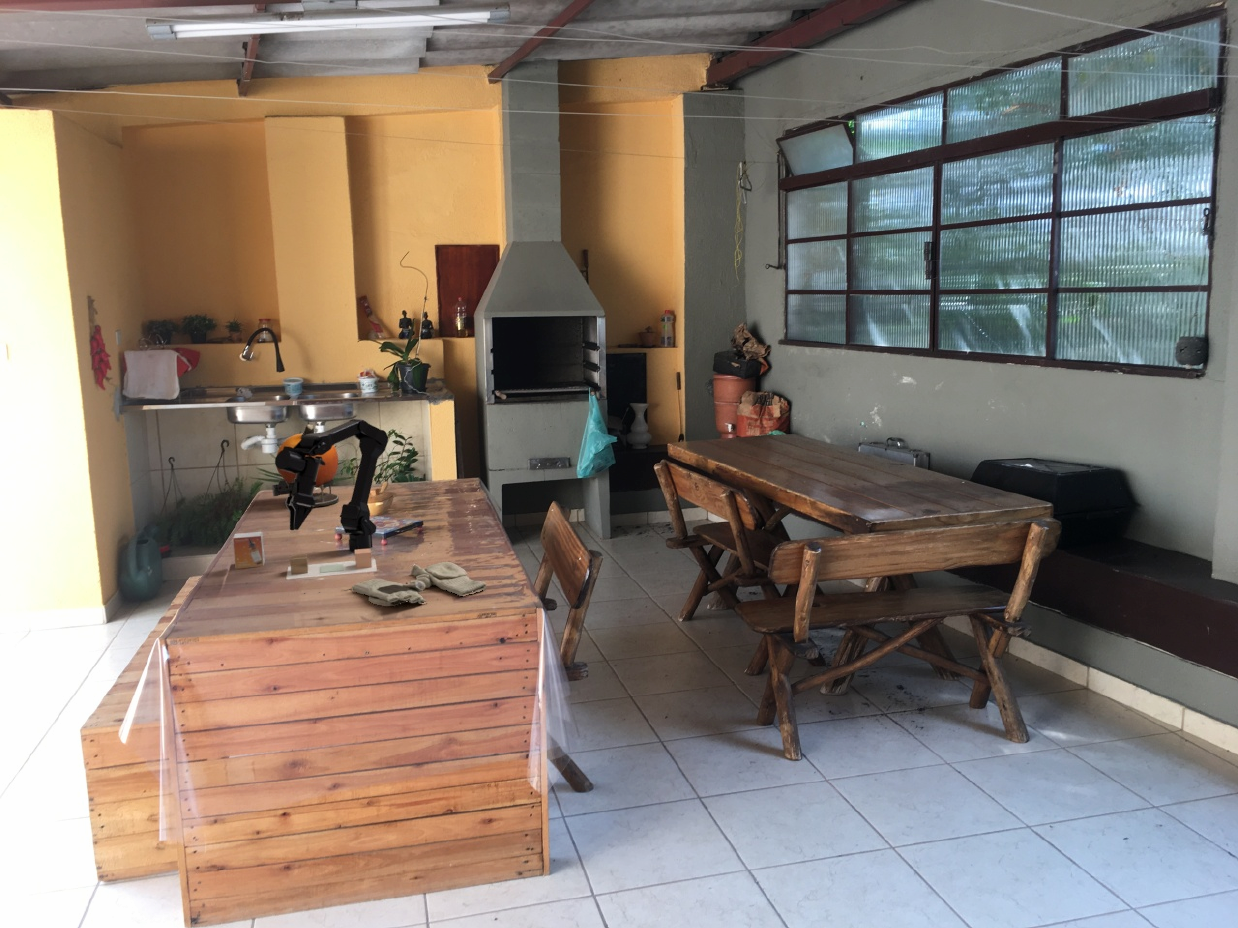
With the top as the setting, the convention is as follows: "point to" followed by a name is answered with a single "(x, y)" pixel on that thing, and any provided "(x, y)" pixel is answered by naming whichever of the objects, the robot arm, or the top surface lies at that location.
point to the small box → (248, 550)
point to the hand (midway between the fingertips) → (293, 529)
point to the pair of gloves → (419, 585)
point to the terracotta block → (363, 558)
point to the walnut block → (299, 564)
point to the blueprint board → (331, 569)
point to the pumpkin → (324, 472)
